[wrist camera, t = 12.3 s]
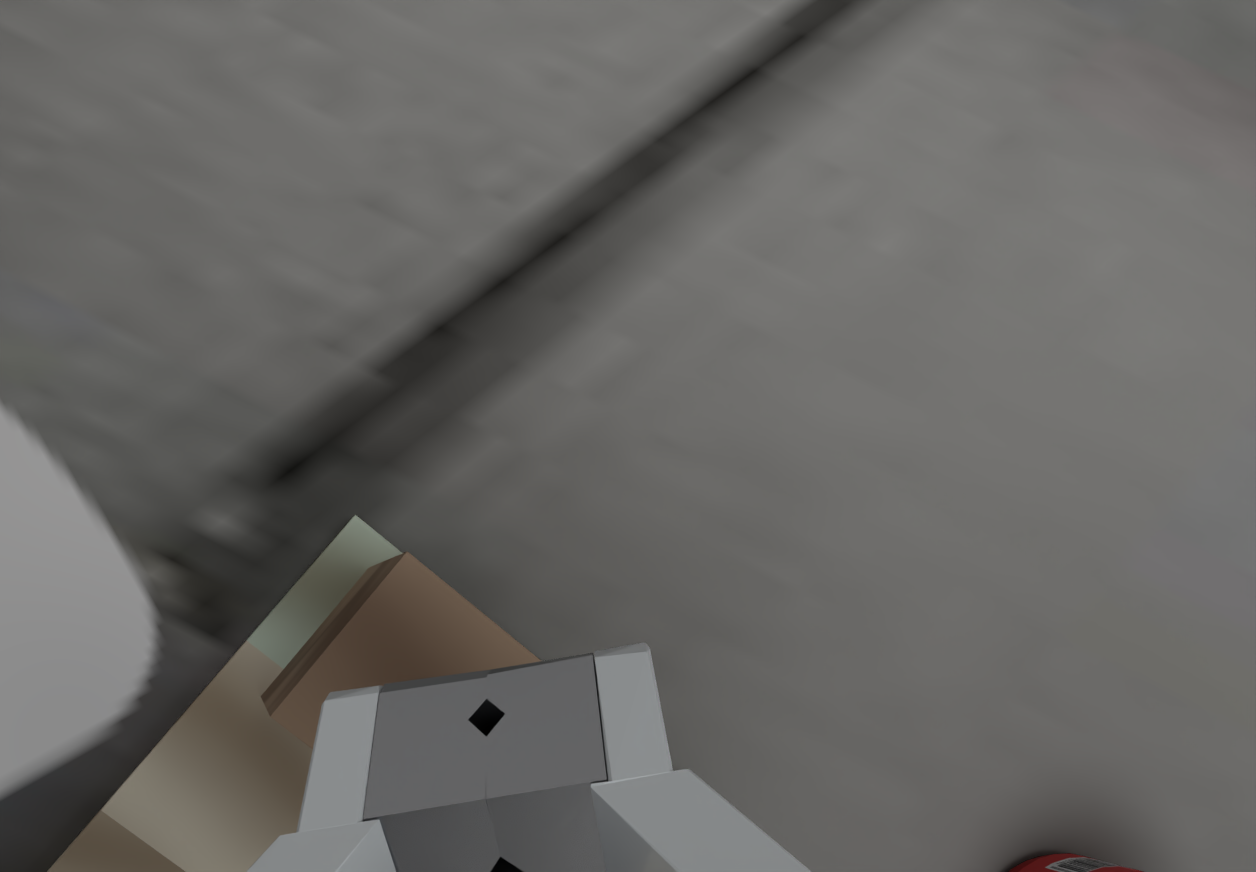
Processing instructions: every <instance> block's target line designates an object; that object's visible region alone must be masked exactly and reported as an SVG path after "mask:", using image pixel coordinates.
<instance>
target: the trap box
mask: <svg viewBox="0 0 1256 872" xmlns="http://www.w3.org/2000/svg"><path fill="white" fill-rule="evenodd" d="M400 554H402V552H400V551H399V550H398V549H397V548H396V547H394V546H393V545H392V544H391V543H389V542H388V541H387V540H386V539H384V538H383V537H382V536H381V535H380V534H378V533H377V532H376V531H375V530H373V529H372V528H371V527H370V526H369V525H367V524H366V523H365V522H364V521H362V520H361V519H360V518H359V517H357V516H356V515H355V516H354V517H352V518H351V519H350V520H349V522H348V523H347V524H346V525H345V526H344V527H343V528H342V530H341V531H340V532H339V533H338V534H337V535H336V537H335V538H334V539H333V540H332V541H331V542H330V544H329V545H328V546H327V547H326V548H325V549H324V551H323V552H322V553H321V554H320V555H319V556H318V557H317V559H316V560H315V561H314V562H313V563H312V564H311V566H310V567H309V568H308V569H307V570H306V571H305V573H304V574H303V575H302V576H301V577H300V578H299V580H298V581H297V582H296V583H295V584H294V585H293V586H292V588H291V589H290V590H289V591H288V592H287V593H286V595H285V596H284V597H283V598H282V599H281V600H280V602H279V603H278V604H277V605H276V606H275V607H274V609H273V610H272V611H271V612H270V613H269V614H268V616H267V617H266V618H265V619H264V620H263V621H262V622H261V624H260V625H259V626H258V627H257V628H256V629H255V631H254V632H253V633H252V634H251V635H250V636H249V638H248V639H247V640H246V641H245V642H244V643H243V645H242V646H241V647H240V648H239V649H238V650H237V651H236V653H235V654H234V655H233V656H232V657H231V658H230V660H229V661H228V662H227V663H226V664H225V665H224V667H223V668H222V669H221V670H220V671H219V672H218V674H217V675H216V676H215V677H214V678H213V679H212V681H211V682H210V683H209V684H208V685H207V686H206V687H205V689H204V690H203V691H202V692H201V693H200V694H199V696H198V697H197V698H196V699H195V700H194V701H193V703H192V704H191V705H190V706H189V707H188V708H187V710H186V711H185V712H184V713H183V714H182V715H181V716H180V718H179V719H178V720H177V721H176V722H175V723H174V725H173V726H172V727H171V728H170V729H169V730H168V732H167V733H166V734H165V735H164V736H163V737H162V739H161V740H160V741H159V742H158V743H157V744H156V745H155V747H154V748H153V749H152V750H151V751H150V752H149V754H148V755H147V756H146V757H145V758H144V759H143V761H142V762H141V763H140V764H139V765H138V766H137V768H136V769H135V770H134V771H133V772H132V773H131V775H130V776H129V777H128V778H127V779H126V780H125V781H124V783H123V784H122V785H121V786H120V787H119V788H118V790H117V791H116V792H115V793H114V794H113V795H112V797H111V798H110V799H109V800H108V801H107V802H106V804H105V805H104V806H103V807H102V808H101V809H100V810H99V812H98V813H97V814H96V815H95V816H94V817H93V819H92V820H91V821H90V822H89V823H88V824H87V826H86V827H85V828H84V829H83V830H82V831H81V833H80V834H79V835H78V836H77V837H76V838H75V840H74V841H73V842H72V843H71V844H70V845H69V846H68V848H67V849H66V850H65V851H64V852H63V853H62V855H61V856H60V857H59V858H58V859H57V860H56V862H55V863H54V864H53V865H52V866H51V867H50V869H49V870H48V871H47V872H246V871H247V870H248V869H249V868H250V867H251V866H252V865H253V864H254V863H255V862H256V861H257V859H258V858H259V857H260V856H261V855H262V854H263V853H264V852H265V851H266V850H267V849H268V848H269V846H270V845H271V844H272V843H273V842H274V841H275V840H276V839H277V838H278V837H279V836H280V835H285V834H291V833H296V831H297V826H298V821H299V816H300V811H301V806H302V801H303V796H304V791H305V786H306V781H307V776H308V771H309V766H310V761H311V756H312V751H313V749H311V748H310V747H309V746H308V745H306V744H305V743H304V742H302V741H301V740H300V739H298V738H297V737H296V736H295V735H293V734H292V733H291V732H289V731H288V730H287V729H285V728H284V727H283V726H281V725H280V724H279V723H278V722H276V721H275V720H274V719H272V718H271V717H270V716H269V713H268V711H267V709H266V707H265V705H264V703H263V701H262V698H261V695H262V694H263V693H264V692H265V691H266V689H267V688H268V687H269V686H270V685H271V683H272V682H273V681H274V680H275V679H276V678H277V676H278V675H279V674H280V673H281V672H282V670H283V669H284V668H285V667H286V666H287V664H288V663H289V662H290V661H291V660H292V658H293V657H294V656H295V655H296V654H297V653H298V651H299V650H300V649H301V648H302V647H303V645H304V644H305V643H306V642H307V641H308V639H309V638H310V637H311V636H312V635H313V633H314V632H315V631H316V630H317V629H318V628H319V626H320V625H321V624H322V623H323V622H324V620H325V619H326V618H327V617H328V616H329V614H330V613H331V612H332V611H333V610H334V608H335V607H336V606H337V605H338V604H339V603H340V601H341V600H342V599H343V598H344V597H345V595H346V594H347V593H348V592H349V591H350V589H351V588H352V587H353V586H354V585H355V583H356V582H357V581H358V580H359V579H360V578H361V576H362V575H363V574H364V573H365V572H366V570H367V569H368V568H369V567H371V566H374V565H376V564H378V563H381V562H383V561H386V560H388V559H390V558H393V557H395V556H397V555H400Z"/></svg>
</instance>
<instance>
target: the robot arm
mask: <svg viewBox="0 0 1256 872" xmlns="http://www.w3.org/2000/svg"><path fill="white" fill-rule="evenodd" d="M246 872H811V871H810V870H809V869H808V868H807V867H806V866H804V865H803V864H802V863H801V862H800V861H798V860H797V859H796V858H795V857H794V856H792V855H791V854H790V853H789V852H788V851H786V850H785V849H784V848H783V847H782V846H781V845H779V844H778V843H777V842H776V841H775V840H773V839H772V838H771V837H770V836H769V835H767V834H766V833H765V832H764V831H763V830H761V829H760V828H759V827H758V826H757V825H756V824H754V823H753V822H752V821H751V820H750V819H748V818H747V817H746V816H745V815H744V814H742V813H741V812H740V811H739V810H738V809H737V808H735V807H734V806H733V805H732V804H731V803H729V802H728V801H727V800H726V799H725V798H723V797H722V796H721V795H720V794H719V793H717V792H716V791H715V790H714V789H713V788H712V787H710V786H709V785H708V784H707V783H706V782H704V781H703V780H702V779H701V778H700V777H698V776H697V775H696V774H695V773H694V772H692V771H691V770H690V769H684V770H677V771H673V768H672V763H671V757H670V752H669V747H668V742H667V736H666V731H665V726H664V721H663V715H662V710H661V705H660V699H659V694H658V689H657V684H656V678H655V673H654V668H653V663H652V657H651V652H650V648H649V647H648V645H647V644H646V643H645V642H643V643H638V644H632V645H626V646H621V647H615V648H610V649H604V650H599V651H595V660H594V655H593V653H588V654H582V655H576V656H569V657H563V658H557V659H551V660H545V661H539V662H533V663H527V664H521V665H515V666H509V667H503V668H497V669H491V670H483V671H476V672H468V673H461V674H454V675H446V676H439V677H431V678H424V679H417V680H409V681H402V682H394V683H387V684H384V686H372V687H365V688H357V689H350V690H343V691H335V692H330V693H329V694H328V696H327V698H326V699H325V701H324V702H323V704H322V706H321V711H320V716H319V721H318V726H317V731H316V736H315V741H314V746H313V751H312V756H311V761H310V766H309V771H308V776H307V781H306V786H305V791H304V796H303V801H302V806H301V811H300V816H299V821H298V826H297V831H296V833H291V834H285V835H280V836H279V837H278V838H277V839H276V840H275V841H274V842H273V843H272V844H271V845H270V846H269V848H268V849H267V850H266V851H265V852H264V853H263V854H262V855H261V856H260V857H259V858H258V859H257V861H256V862H255V863H254V864H253V865H252V866H251V867H250V868H249V869H248V870H247V871H246Z"/></svg>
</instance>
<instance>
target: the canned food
mask: <svg viewBox="0 0 1256 872" xmlns="http://www.w3.org/2000/svg"><path fill="white" fill-rule="evenodd" d="M1009 872H1143V871H1139V870H1135V869H1131V868H1127V867H1124V866H1120V865H1116V864H1112V863H1108V862H1104V861H1101V860H1097V859H1093V858H1089V857H1085V856H1080V855H1075V854H1070V853H1067V854H1052V855H1046V856H1040V857H1037V858H1033V859H1030V860H1027V861H1025V862H1023V863H1021V864H1019V865H1018V866H1016V867H1014V868H1012V869H1011V870H1010V871H1009Z"/></svg>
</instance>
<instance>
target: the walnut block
mask: <svg viewBox="0 0 1256 872" xmlns="http://www.w3.org/2000/svg"><path fill="white" fill-rule="evenodd" d="M539 661H541V660H540V659H538V658H537V657H536V656H535V655H533V654H532V653H531V652H530V651H529V650H527V649H526V648H525V647H524V646H522V645H521V644H520V643H519V642H518V641H516V640H515V639H514V638H513V637H511V636H510V635H509V634H508V633H507V632H505V631H504V630H503V629H502V628H500V627H499V626H498V625H497V624H496V623H494V622H493V621H492V620H491V619H489V618H488V617H487V616H486V615H485V614H483V613H482V612H481V611H480V610H478V609H477V608H476V607H475V606H474V605H472V604H471V603H470V602H469V601H467V600H466V599H465V598H464V597H462V596H461V595H460V594H459V593H458V592H456V591H455V590H454V589H453V588H451V587H450V586H449V585H448V584H447V583H445V582H444V581H443V580H442V579H440V578H439V577H438V576H437V575H436V574H434V573H433V572H432V571H431V570H429V569H428V568H427V567H426V566H425V565H423V564H422V563H421V562H420V561H418V560H417V559H416V558H415V557H414V556H412V555H411V554H410V553H409V552H405V553H402V554H400V555H397V556H395V557H393V558H390V559H388V560H386V561H383V562H381V563H378V564H376V565H374V566H371V567H369V568H368V569H367V570H366V572H365V573H364V574H363V575H362V576H361V578H360V579H359V580H358V581H357V582H356V583H355V585H354V586H353V587H352V588H351V589H350V591H349V592H348V593H347V594H346V595H345V597H344V598H343V599H342V600H341V601H340V603H339V604H338V605H337V606H336V607H335V608H334V610H333V611H332V612H331V613H330V614H329V616H328V617H327V618H326V619H325V620H324V622H323V623H322V624H321V625H320V626H319V628H318V629H317V630H316V631H315V632H314V633H313V635H312V636H311V637H310V638H309V639H308V641H307V642H306V643H305V644H304V645H303V647H302V648H301V649H300V650H299V651H298V653H297V654H296V655H295V656H294V657H293V658H292V660H291V661H290V662H289V663H288V664H287V666H286V667H285V668H284V669H283V670H282V672H281V673H280V674H279V675H278V676H277V678H276V679H275V680H274V681H273V682H272V683H271V685H270V686H269V687H268V688H267V689H266V691H265V692H264V693H263V694H262V695H261V698H262V701H263V703H264V705H265V707H266V709H267V711H268V713H269V716H270V717H271V718H272V719H274V720H275V721H276V722H278V723H279V724H280V725H281V726H283V727H284V728H285V729H287V730H288V731H289V732H291V733H292V734H293V735H295V736H296V737H297V738H298V739H300V740H301V741H302V742H304V743H305V744H306V745H308V746H309V747H310V748H311V749H313V746H314V741H315V736H316V731H317V726H318V721H319V716H320V711H321V706H322V704H323V702H324V701H325V699H326V698H327V696H328V694H329V693H330V692H335V691H343V690H350V689H357V688H365V687H372V686H384V684H387V683H394V682H402V681H409V680H417V679H424V678H431V677H439V676H446V675H454V674H461V673H468V672H476V671H483V670H491V669H497V668H503V667H509V666H515V665H521V664H527V663H533V662H539Z"/></svg>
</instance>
